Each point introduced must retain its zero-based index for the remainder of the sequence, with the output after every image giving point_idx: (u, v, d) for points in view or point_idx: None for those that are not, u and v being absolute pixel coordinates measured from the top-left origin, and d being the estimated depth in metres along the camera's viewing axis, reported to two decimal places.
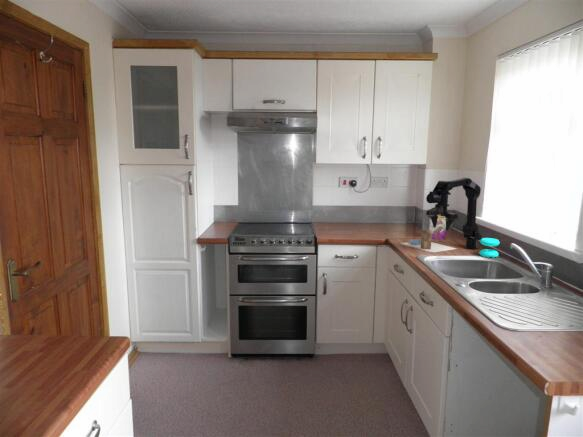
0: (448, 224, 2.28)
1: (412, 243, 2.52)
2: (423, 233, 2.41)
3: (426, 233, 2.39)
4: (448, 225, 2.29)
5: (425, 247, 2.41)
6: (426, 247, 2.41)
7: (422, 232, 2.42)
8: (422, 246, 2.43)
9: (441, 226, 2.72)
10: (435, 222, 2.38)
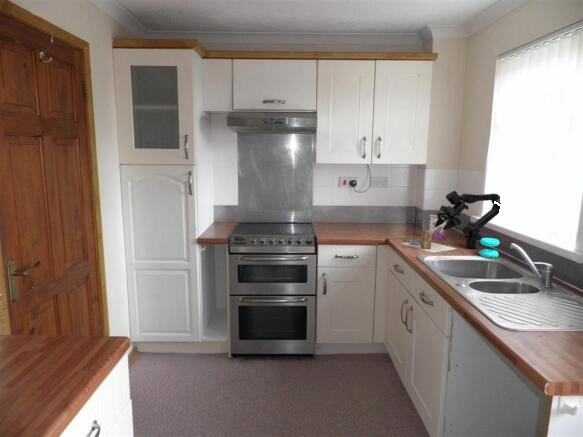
0: (448, 225, 2.37)
1: (412, 243, 2.52)
2: (423, 233, 2.41)
3: (426, 233, 2.39)
4: (447, 226, 2.37)
5: (425, 247, 2.41)
6: (426, 247, 2.41)
7: (422, 232, 2.42)
8: (422, 246, 2.43)
9: (441, 226, 2.72)
10: (438, 223, 2.47)
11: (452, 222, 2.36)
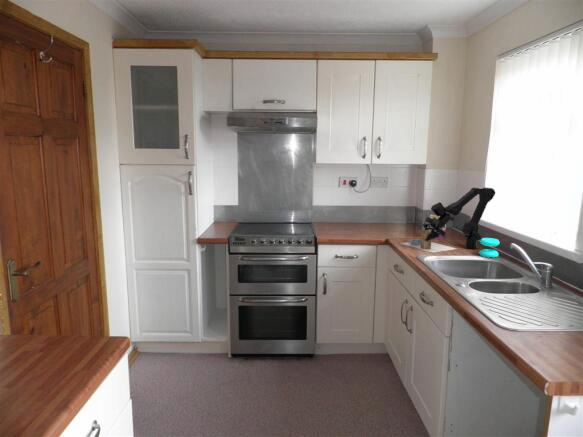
0: (430, 236, 2.39)
1: (412, 243, 2.52)
2: (423, 233, 2.41)
3: (426, 233, 2.39)
4: (430, 237, 2.39)
5: (425, 247, 2.41)
6: (426, 247, 2.41)
7: (422, 232, 2.42)
8: (422, 246, 2.43)
9: None
10: None
11: (435, 233, 2.38)
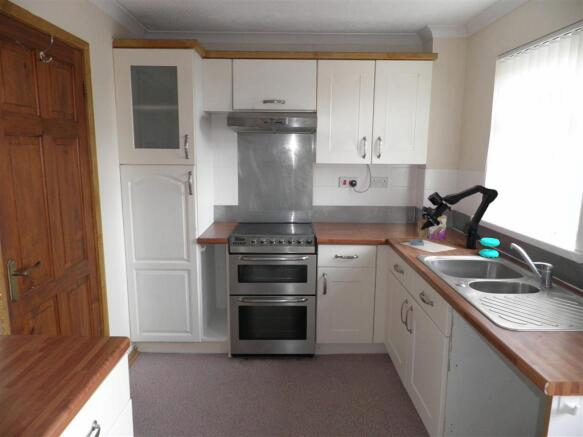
0: (426, 225, 2.42)
1: (412, 243, 2.52)
2: (419, 222, 2.45)
3: (422, 222, 2.43)
4: (425, 226, 2.42)
5: (421, 236, 2.44)
6: (422, 236, 2.44)
7: (418, 221, 2.46)
8: (418, 235, 2.46)
9: (441, 226, 2.72)
10: None
11: (430, 222, 2.41)
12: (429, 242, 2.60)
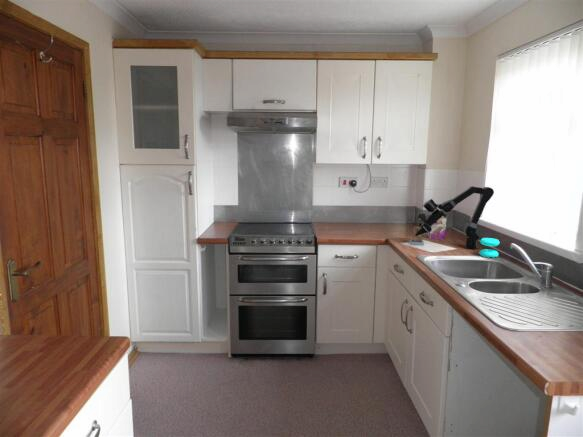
0: (420, 231, 2.48)
1: (412, 243, 2.52)
2: (413, 229, 2.54)
3: (415, 229, 2.52)
4: (419, 232, 2.49)
5: None
6: None
7: (413, 228, 2.55)
8: (413, 241, 2.55)
9: (441, 226, 2.72)
10: None
11: (424, 228, 2.47)
12: (429, 242, 2.60)
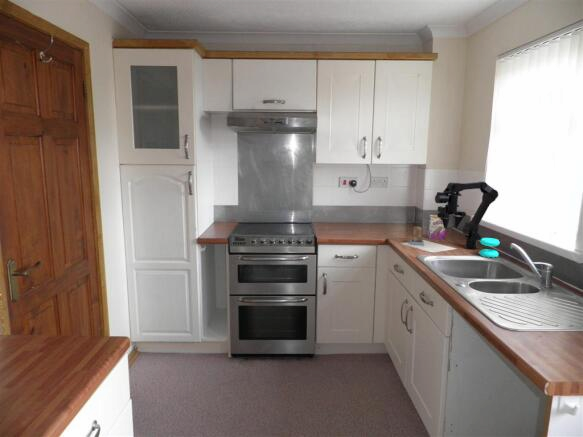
0: (444, 223, 2.42)
1: (412, 243, 2.52)
2: (413, 229, 2.54)
3: (415, 229, 2.52)
4: (444, 224, 2.42)
5: None
6: None
7: (413, 228, 2.55)
8: (413, 241, 2.55)
9: (441, 226, 2.72)
10: (456, 222, 2.46)
11: (443, 218, 2.41)
12: (429, 242, 2.60)
